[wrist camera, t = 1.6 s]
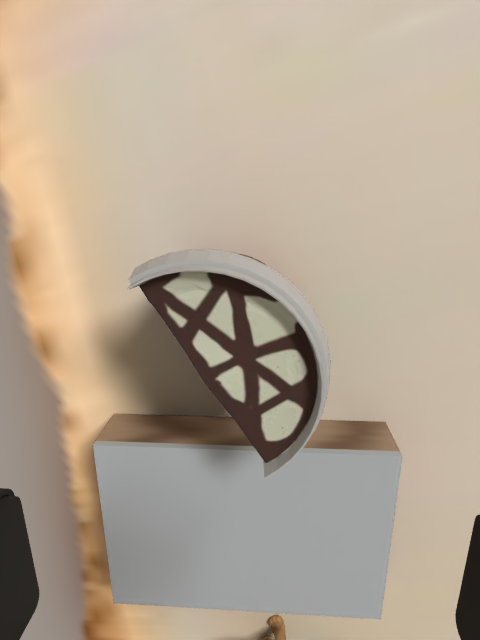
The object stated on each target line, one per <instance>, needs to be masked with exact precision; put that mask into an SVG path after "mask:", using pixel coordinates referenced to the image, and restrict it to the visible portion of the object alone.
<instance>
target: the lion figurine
mask: <svg viewBox="0 0 480 640" xmlns="http://www.w3.org/2000/svg"><path fill="white" fill-rule="evenodd" d="M269 625H270V626H271V627H272V628H273V633H274V635H275V638H273V637H270V636H265V637H264V638H262V640H286V635H285V626H284V622H283V619H282V618H281V617H280V616H278V615H274V616H272V617H270V620H269Z"/></svg>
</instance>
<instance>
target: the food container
mask: <svg viewBox="0 0 480 640" xmlns="http://www.w3.org/2000/svg"><path fill="white" fill-rule="evenodd" d="M129 281H130V282H131V283H132V284H131V285H130V286H129V287H128V289H131V288H134V287H137V286H140V288H141V290H142V291H143V292H144V294H145V296H146V297H147V299H148V301H149V302H150V303H151V304H152V305H153V306H154V307H155V309H156V310H157V311H158V312H159V314H160V315H161V317H162V318H163V319H164V321H165V322H166V324H167V325H168V327H169V328H170V330H171V331H172V332H173V334H174V335H175V337H176V338H177V340H178V341H179V343H180V344H181V346H182V347H183V349H184V350H185V352H186V353H187V355H188V357H189V358H190V360H191V362H192V363H193V365H194V366H195V368H196V369H197V371H198V373H199V374H200V376H201V377H202V379H203V380H204V382H205V383H206V385H207V386H208V387H209V388H210V390H211V391H212V392H213V393H214V395H215V396H216V397H217V398H218V400H219V401H220V402H221V403H222V404H223V406H224V407H225V408H226V410H227V411H228V412H229V413H230V415H231V416H232V417H233V419H234V420H235V421H236V423H237V424H238V425H239V427H240V428H241V430H242V431H243V432H244V434H245V435H246V437H247V438H248V439H249V441H250V442H251V444H252V445H253V446H254V448H255V449H256V451H257V452H258V453H259V455H260V456H261V458H262V459H263V464H264V478H265V479H266V478H268V477H270V476H271V475H273V474H275V473H277V472H278V471H280V470H281V469H282V468H283V467H285V466H286V465H287V464H288V463H290V462H291V461H292V460H293V459H294V458H295V457H296V456H297V454H298V453H299V452H300V451H301V450H302V449H303V448H304V446H305V445H306V443H307V442H308V440H309V439H310V437H311V436H312V434H313V433H314V431H315V429H316V428H317V425H318V423H319V421H320V418H321V416H322V414H323V411H324V407H325V402H326V398H327V393H328V387H329V381H330V356H329V348H328V343H327V340H326V336H325V333H324V330H323V327H322V325H321V323H320V321H319V319H318V317H317V315H316V313H315V311H314V309H313V308H312V306H311V305H310V304H309V302H308V301H307V300H306V298H305V297H304V295H303V294H302V293H301V292H300V291H299V290H298V289H297V288H296V287H295V286H294V285H293V284H292V283H291V282H290V281H289V280H288V279H286V278H285V277H283V276H282V275H281V274H279V273H278V272H276V271H275V270H273V269H272V268H270V267H268V266H267V265H266V264H264V263H263V262H261V261H259V260H256V259H254V258H252V257H249V256H245V255H242V254H236V253H233V252H227V251H220V250H213V249H194V250H185V251H179V252H173V253H169V254H166V255H163V256H160V257H157V258H154V259H152V260H149V261H148V262H146V263H144V264H142V265H140V266H138V267H137V268H135V269H134V271H133V273H132V274H131V276H130V278H129Z"/></svg>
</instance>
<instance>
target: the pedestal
mask: <svg viewBox="0 0 480 640" xmlns="http://www.w3.org/2000/svg"><path fill="white" fill-rule="evenodd" d="M93 450H94V458H95V465H96V473H97V480H98V488H99V496H100V503H101V511H102V518H103V526H104V534H105V541H106V549H107V557H108V564H109V572H110V579H111V587H112V595H113V602H114V603H121V604H138V605H154V606H170V607H187V608H203V609H220V610H236V611H252V612H269V613H285V614H302V615H318V616H334V617H351V618H367V619H381V614H382V606H383V599H384V591H385V583H386V576H387V568H388V561H389V553H390V545H391V538H392V530H393V523H394V515H395V507H396V500H397V492H398V485H399V477H400V470H401V462H402V455H401V453H400V451H399V448H398V446H397V444H396V442H395V440H394V438H393V436H392V434H391V432H390V430H389V428H388V426H387V424H386V422H367V421H334V420H320V421H319V423H318V425H317V428H316V429H315V431H314V433H313V434H312V436H311V437H310V439H309V440H308V442H307V443H306V445H305V446H304V448H303V449H302V450H301V451H300V452H299V453H298V454H297V456H296V457H295V458H294V459H293V460H292V461H291V462H290V463H288V464H287V465H286V466H285V467H283V468H282V469H281V470H280V471H278V472H277V473H275V474H273V475H271V476H270V477H268V478H266V479H265V478H264V464H263V459H262V458H261V456H260V455H259V453H258V452H257V451H256V449H255V448H254V446H253V445H252V444H251V442H250V441H249V439H248V438H247V437H246V435H245V434H244V432H243V431H242V430H241V428H240V427H239V425H238V424H237V423H236V421H235V420H234V419H233V417H203V416H170V415H137V414H114V415H113V416H112V418H111V419H110V421H109V422H108V424H107V425H106V427H105V428H104V430H103V431H102V432H101V434H100V435H99V437H98V438H97V440H96V441H95V443H94V444H93Z"/></svg>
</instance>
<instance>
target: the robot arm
mask: <svg viewBox="0 0 480 640" xmlns="http://www.w3.org/2000/svg"><path fill="white" fill-rule="evenodd" d="M38 600H39V587H38V582H37V578H36V573H35V568H34V563H33V558H32V553H31V548H30V544H29V539H28V534H27V529H26V524H25V519H24V514H23V509H22V504H21V501H20V498H19V497H16V496H14V493H13V491H12V490H11V489H2V488H0V640H19V639H20V637H21V635H22V634H23V632H24V630H25V628H26V626H27V624H28V623H29V621H30V619H31V617H32V615H33V613H34V612H35V609H36V607H37V604H38ZM456 625H457V629H458V633H459V635H460V638H461V640H480V515H477V516H476V518H475V522H474V527H473V531H472V536H471V541H470V546H469V551H468V556H467V561H466V565H465V570H464V575H463V580H462V585H461V590H460V595H459V599H458V604H457V609H456Z"/></svg>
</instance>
